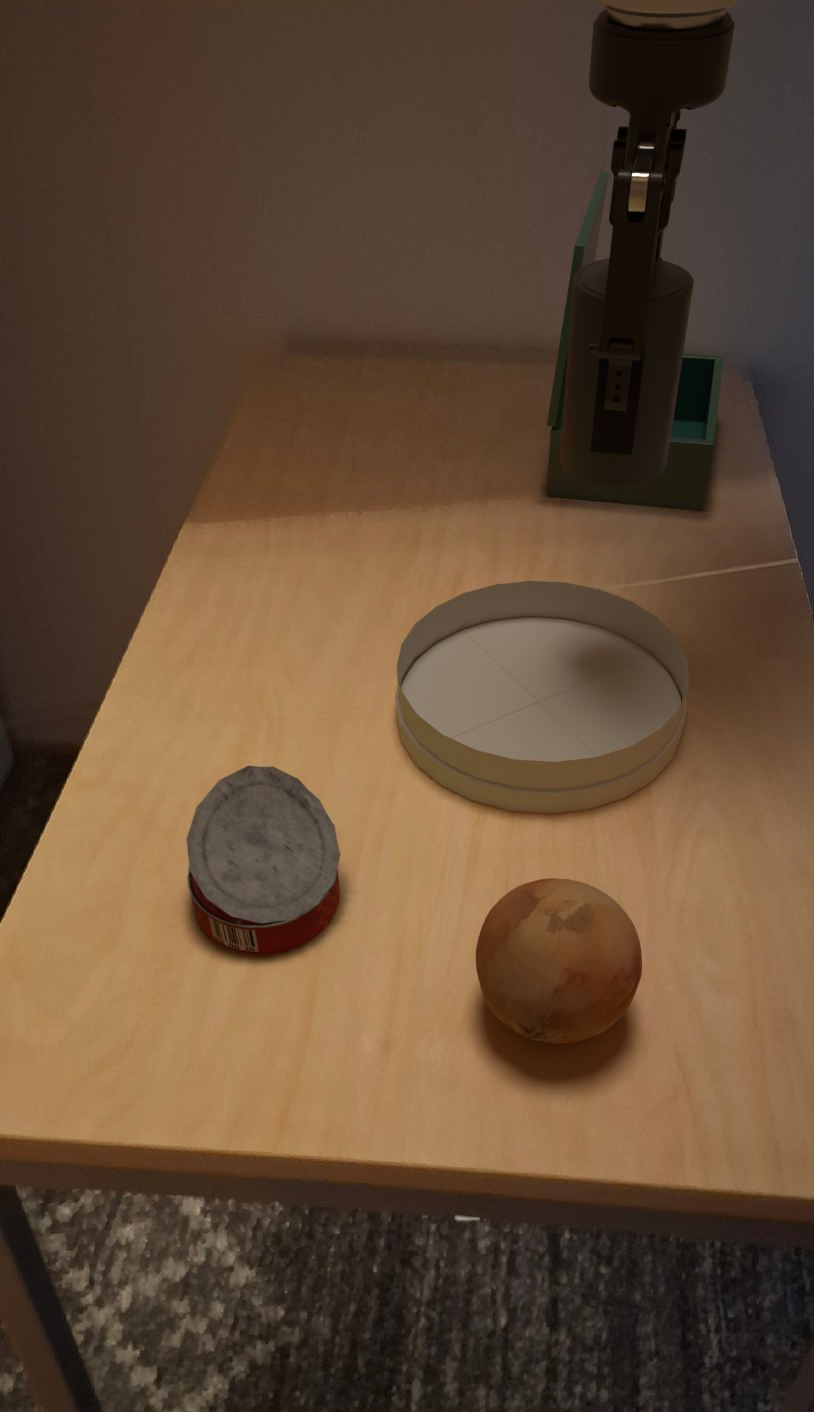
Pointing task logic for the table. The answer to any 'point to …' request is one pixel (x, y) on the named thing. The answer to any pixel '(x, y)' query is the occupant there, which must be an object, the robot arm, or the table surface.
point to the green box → (685, 456)
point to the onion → (558, 960)
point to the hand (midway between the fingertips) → (618, 421)
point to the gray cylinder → (656, 385)
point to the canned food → (262, 862)
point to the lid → (581, 257)
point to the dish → (541, 696)
